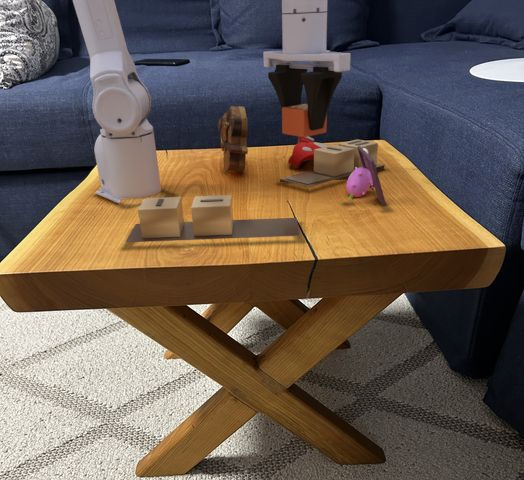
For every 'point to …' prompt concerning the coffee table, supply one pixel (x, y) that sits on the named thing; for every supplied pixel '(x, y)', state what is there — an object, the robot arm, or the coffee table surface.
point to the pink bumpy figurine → (364, 178)
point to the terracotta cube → (298, 121)
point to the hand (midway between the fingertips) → (304, 127)
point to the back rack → (336, 163)
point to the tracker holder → (304, 151)
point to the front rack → (202, 221)
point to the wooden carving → (234, 138)
